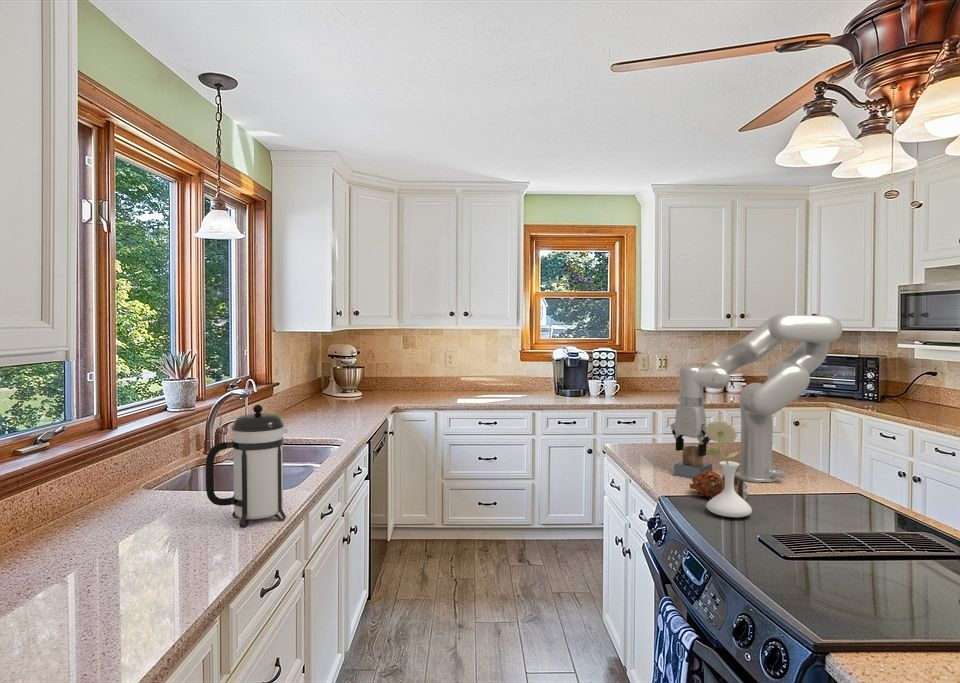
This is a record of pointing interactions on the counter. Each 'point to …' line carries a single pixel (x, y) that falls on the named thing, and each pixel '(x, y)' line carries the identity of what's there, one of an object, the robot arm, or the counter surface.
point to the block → (692, 456)
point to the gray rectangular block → (690, 469)
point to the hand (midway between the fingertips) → (690, 452)
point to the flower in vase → (726, 474)
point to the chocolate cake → (739, 487)
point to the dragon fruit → (708, 484)
